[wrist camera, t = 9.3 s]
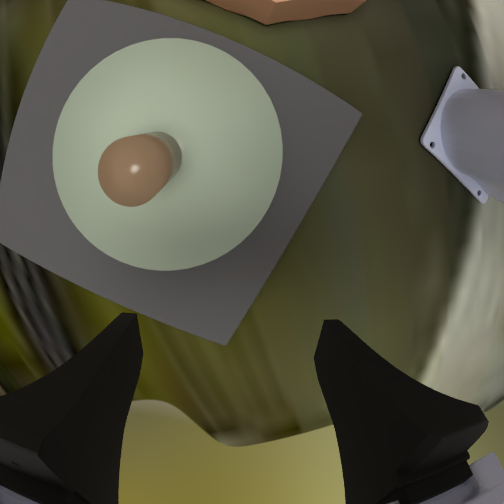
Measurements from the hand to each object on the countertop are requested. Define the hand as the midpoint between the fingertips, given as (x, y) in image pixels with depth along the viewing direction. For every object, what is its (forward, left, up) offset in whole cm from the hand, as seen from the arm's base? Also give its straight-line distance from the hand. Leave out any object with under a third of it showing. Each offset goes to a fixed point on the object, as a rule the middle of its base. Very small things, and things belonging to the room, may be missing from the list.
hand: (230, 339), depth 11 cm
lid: (+6, -3, -10) cm, 12 cm away
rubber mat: (+7, -2, -10) cm, 13 cm away
